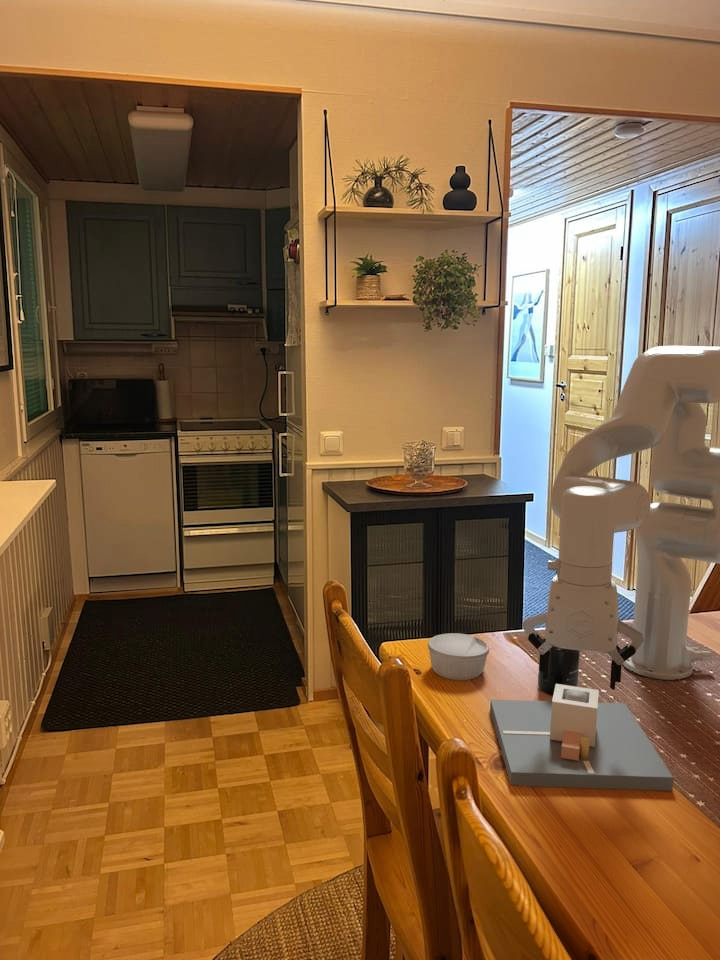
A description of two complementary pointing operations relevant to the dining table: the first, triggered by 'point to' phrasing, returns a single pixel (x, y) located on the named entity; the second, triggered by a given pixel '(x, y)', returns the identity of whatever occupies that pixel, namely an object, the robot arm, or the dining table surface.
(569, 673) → the supplement bottle
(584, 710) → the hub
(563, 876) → the dining table surface
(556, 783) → the board
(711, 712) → the dining table surface
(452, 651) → the ramekin
